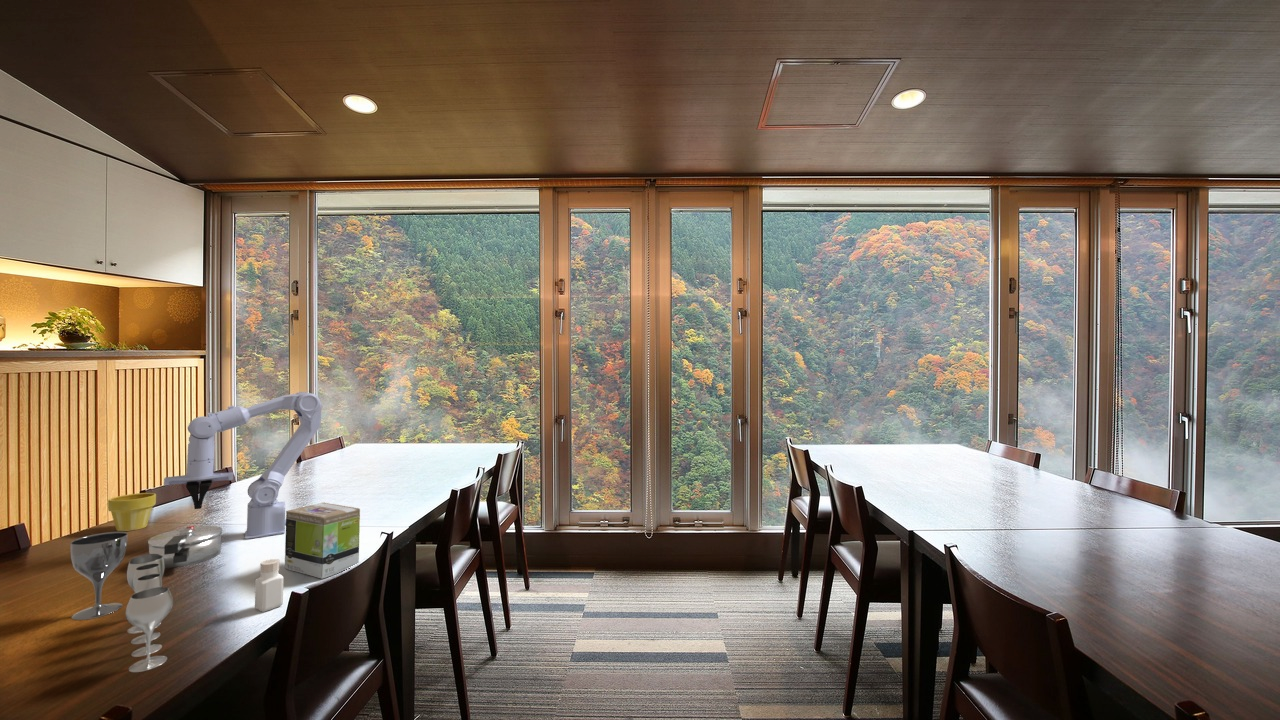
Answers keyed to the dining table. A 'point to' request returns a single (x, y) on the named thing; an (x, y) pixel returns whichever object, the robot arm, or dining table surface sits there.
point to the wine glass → (98, 566)
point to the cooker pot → (190, 553)
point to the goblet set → (147, 607)
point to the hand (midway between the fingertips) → (198, 508)
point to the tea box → (322, 539)
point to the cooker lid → (183, 537)
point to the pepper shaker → (269, 586)
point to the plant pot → (131, 510)
